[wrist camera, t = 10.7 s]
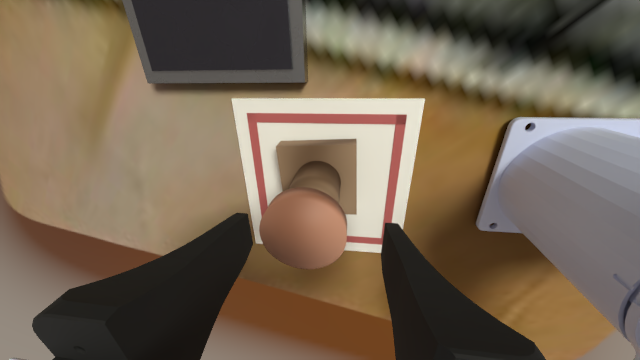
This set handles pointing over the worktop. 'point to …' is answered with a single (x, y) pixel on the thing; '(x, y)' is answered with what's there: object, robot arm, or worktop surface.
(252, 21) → the ink pad
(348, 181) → the stamp
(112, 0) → the worktop surface
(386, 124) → the marked sheet
